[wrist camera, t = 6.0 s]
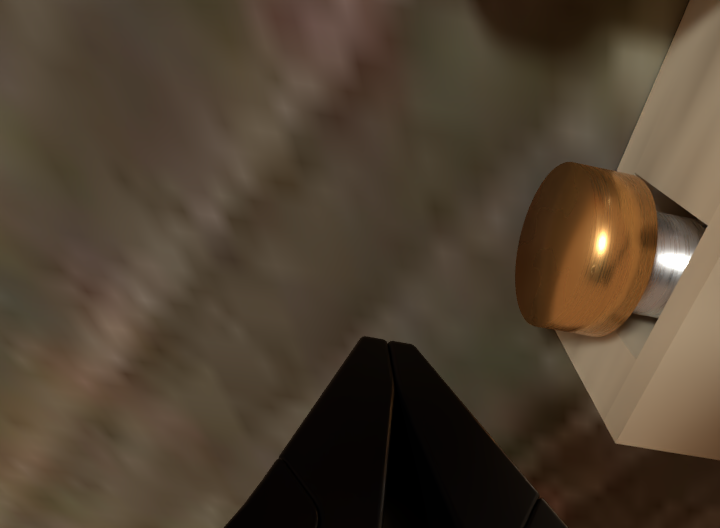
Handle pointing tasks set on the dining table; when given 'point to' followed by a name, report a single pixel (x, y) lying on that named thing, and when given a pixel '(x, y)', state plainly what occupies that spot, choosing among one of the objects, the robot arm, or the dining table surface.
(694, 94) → the beech block
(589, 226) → the knob outer
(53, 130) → the dining table surface
